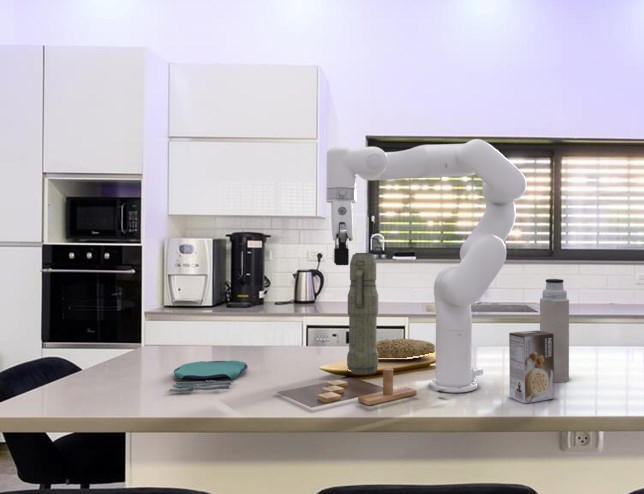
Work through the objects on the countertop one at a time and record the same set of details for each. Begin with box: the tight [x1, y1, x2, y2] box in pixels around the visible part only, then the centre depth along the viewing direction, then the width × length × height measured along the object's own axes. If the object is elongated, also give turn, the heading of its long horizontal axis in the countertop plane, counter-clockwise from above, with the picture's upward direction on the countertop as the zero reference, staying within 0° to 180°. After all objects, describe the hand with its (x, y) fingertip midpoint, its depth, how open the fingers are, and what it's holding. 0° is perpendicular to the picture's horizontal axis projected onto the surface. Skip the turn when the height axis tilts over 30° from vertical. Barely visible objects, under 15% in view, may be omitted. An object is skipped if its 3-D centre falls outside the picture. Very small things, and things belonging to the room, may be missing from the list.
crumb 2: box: [322, 385, 344, 394], centre depth 137 cm, size 4×4×1 cm
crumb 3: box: [317, 392, 341, 403], centre depth 131 cm, size 4×4×1 cm
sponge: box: [376, 337, 436, 361], centre depth 181 cm, size 13×8×20 cm
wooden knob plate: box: [357, 367, 418, 407], centre depth 132 cm, size 4×14×8 cm, turn 131°
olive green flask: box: [346, 252, 379, 375], centre depth 160 cm, size 9×12×35 cm
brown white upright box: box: [508, 330, 555, 404], centre depth 136 cm, size 9×6×16 cm
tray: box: [276, 376, 383, 409], centre depth 139 cm, size 23×17×1 cm
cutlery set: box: [168, 359, 248, 393], centre depth 154 cm, size 20×30×2 cm, turn 9°
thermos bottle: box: [539, 278, 570, 383], centre depth 156 cm, size 8×8×28 cm
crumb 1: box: [325, 379, 348, 387], centre depth 143 cm, size 4×4×1 cm
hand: (341, 264), depth 140 cm, fingers open, 9 cm apart
